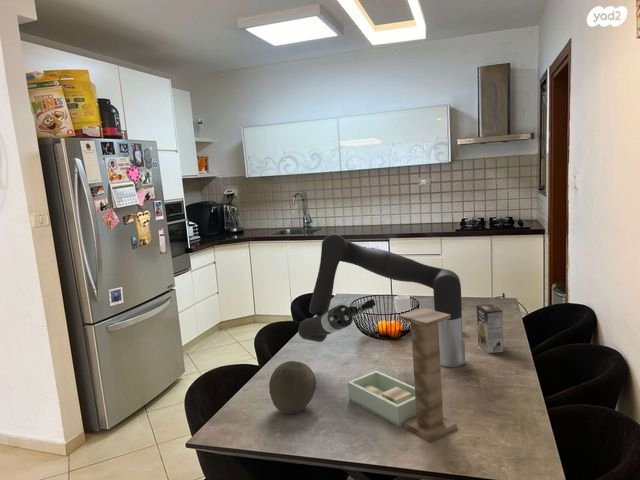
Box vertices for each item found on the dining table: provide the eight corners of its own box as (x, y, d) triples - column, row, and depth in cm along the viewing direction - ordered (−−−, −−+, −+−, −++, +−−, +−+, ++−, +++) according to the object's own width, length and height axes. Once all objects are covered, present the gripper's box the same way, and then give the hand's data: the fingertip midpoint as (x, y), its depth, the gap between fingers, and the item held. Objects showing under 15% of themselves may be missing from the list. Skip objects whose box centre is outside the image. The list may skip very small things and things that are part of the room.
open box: (349, 400, 150) (347, 382, 149) (377, 387, 157) (376, 370, 156) (398, 427, 132) (397, 407, 131) (428, 412, 139) (427, 392, 138)
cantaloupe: (300, 426, 137) (296, 376, 135) (262, 416, 145) (257, 369, 143) (326, 403, 149) (322, 358, 147) (289, 395, 156) (285, 352, 154)
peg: (359, 396, 150) (358, 381, 149) (373, 390, 153) (372, 375, 153) (396, 416, 136) (395, 400, 135) (412, 409, 139) (411, 393, 139)
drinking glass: (412, 327, 212) (411, 294, 210) (410, 332, 206) (408, 299, 203) (397, 327, 214) (395, 294, 212) (395, 332, 208) (392, 298, 206)
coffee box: (477, 345, 186) (475, 304, 184) (493, 343, 187) (492, 303, 184) (487, 353, 177) (486, 311, 175) (504, 351, 178) (503, 309, 175)
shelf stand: (404, 427, 132) (397, 315, 127) (428, 414, 138) (423, 307, 133) (431, 442, 124) (425, 323, 119) (456, 428, 129) (451, 314, 125)
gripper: (315, 313, 157) (341, 299, 144) (348, 303, 165) (375, 288, 153) (323, 335, 155) (351, 323, 143) (356, 323, 164) (385, 310, 151)
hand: (363, 305), depth 148 cm, fingers open, 8 cm apart
